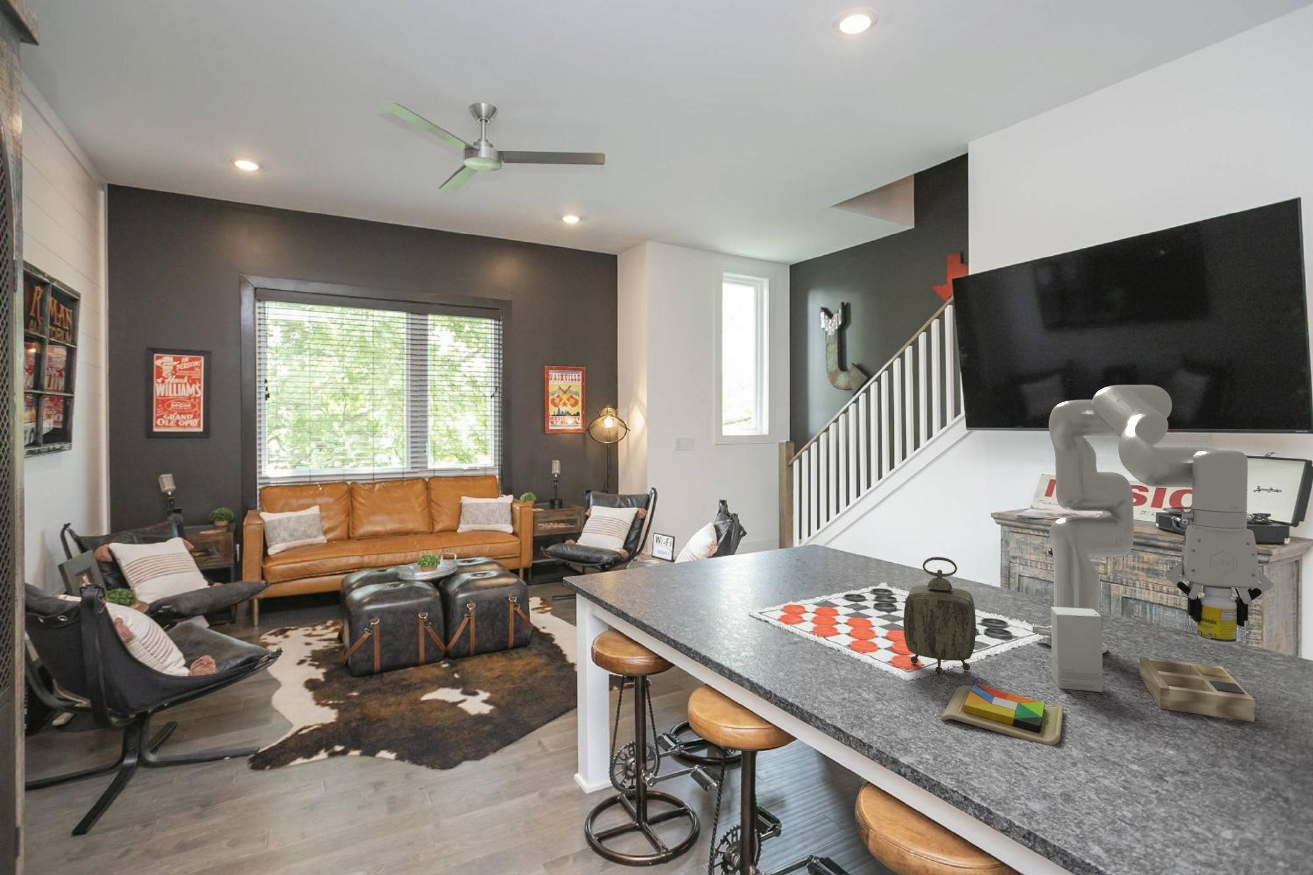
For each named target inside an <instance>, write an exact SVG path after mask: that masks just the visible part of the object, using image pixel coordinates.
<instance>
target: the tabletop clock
mask: <svg viewBox="0 0 1313 875" xmlns="http://www.w3.org/2000/svg"><path fill="white" fill-rule="evenodd" d="M933 561H942V562H943V561H945V562H947V563H950V564H951V565H952V566H953V567H954V570H953V571H952V572H948V573H943V570H941V569H937V571H936V572H933V571H930V570H928V569H926V564H928V563H929V562H933ZM957 566H958V565H957V564H956V563H955V562H954V561H953V560H951V559H950V558H946V557H944V556H943V557H942V556H933V557H930V558H927V559H925V560H924V562H923V564H922V569H923V571H924V572H925V573H927V574H929V575H931V576H933V577H932V578H931V579H930V580H929V581H928V583H927V584H926V585H916V586H913V587H911V588H910V590H909V593H908V594H907V597H906V600H905V602H904V603H905V604H904V610H903V620H902V621H903V635H904V641H905V645H906V648H907V650H908V652H910V653H912V654H914V655H913V656H911V657H910V662H911V663H912V664H917V663H918V662H919V656H920V657H924V658H929V659H933V660H937V666H936V667H935V669H934V672H935V674H937V675H942V674H944V670H943V668H942V667H941V666H942V664H941V663H942V661H957V662H958V661H959V662H961V663H962V665H961V666H962V669H963V670H964V671H969V670H970V669H971V665H970V664H969V663H968V662H966V661H965V660H971V657H972V655H973V653H974V650H975V646H976V645H975V644H976V633H977V619H976V618H977V617H976V607H975V602H974V598H973V596H972V594H971V592H969V591H967V590H964V589H962V588H957V587H952V584H951V582H950V580H948V579H947V578H946V577H951V576H953V575H955V574H956V573H957V571H958V567H957Z"/></svg>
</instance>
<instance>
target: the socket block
mask: <svg viewBox="0 0 1313 875" xmlns="http://www.w3.org/2000/svg"><path fill="white" fill-rule="evenodd" d="M1139 677H1140V678H1141V680H1142V682H1143V683H1144V685H1145V687H1146V688H1147V690H1148V691H1149V693H1150V694H1152V695H1151V696H1152V698H1153V699H1154V701H1155V703H1156V704H1157V706H1158V708H1159V709H1163V710H1170V711H1176V712H1183V713H1191V714H1196V715H1197V714H1198V715H1204V716H1211V717H1218V718H1224V719H1230V720H1236V721H1237V720H1239V721H1247V722H1251V723H1254V722H1255V712H1256V711H1255V699H1254V697H1252V696H1251V695H1250V694H1249V692H1247V691H1246V690H1245V688H1243V687H1242V686H1241V684H1239V682H1238V681H1237V680H1236V679H1234V677H1232V676H1231V674H1230V673H1229V672H1228V671H1227V670H1225V668H1224V667H1223V666H1218V665H1209V664H1202V663H1200V664H1199V663H1194V662H1193V663H1192V662H1186V661H1184V662H1183V661H1176V660H1168V659H1167V660H1166V659H1159V658H1150V657H1142V656H1140V657H1139Z"/></svg>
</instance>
